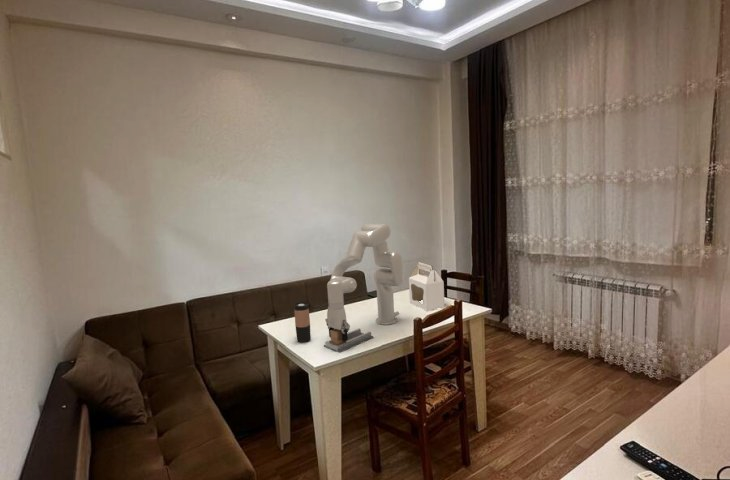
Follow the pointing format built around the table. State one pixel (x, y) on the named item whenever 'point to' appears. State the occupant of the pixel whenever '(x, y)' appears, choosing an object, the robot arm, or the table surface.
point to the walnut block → (336, 336)
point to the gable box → (426, 288)
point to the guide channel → (349, 341)
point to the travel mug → (302, 322)
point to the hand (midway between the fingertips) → (338, 338)
